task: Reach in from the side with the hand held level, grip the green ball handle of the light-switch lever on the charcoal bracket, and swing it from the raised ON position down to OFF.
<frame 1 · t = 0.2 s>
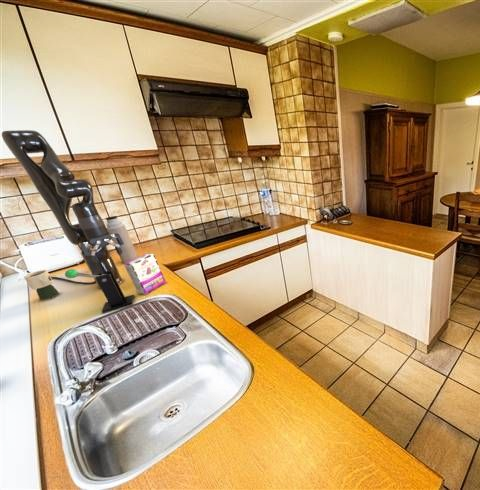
hand: (109, 258, 124), 17 cm above the worktop, tool pointing down, fingers open, 8 cm apart
switch bracket: (119, 304, 119), on the worktop
candy bar box: (152, 288, 131), on the worktop
switch lever: (88, 275, 110), point 17 cm above the worktop, hinge at 30.0°
thermos bottle: (131, 260, 163), on the worktop
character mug: (50, 297, 128), on the worktop
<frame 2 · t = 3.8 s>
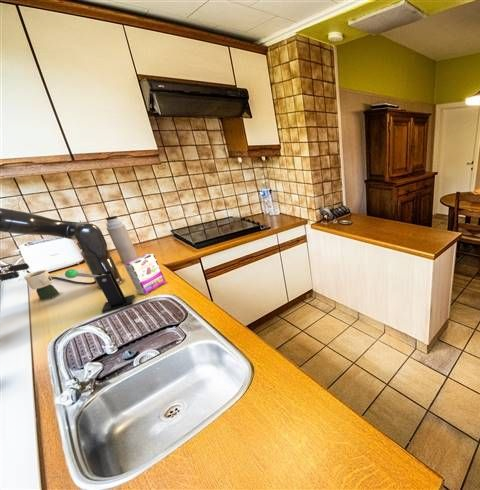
hand: (23, 269, 99), 25 cm above the worktop, tool horizontal, fingers open, 8 cm apart
nothing on the worktop moved.
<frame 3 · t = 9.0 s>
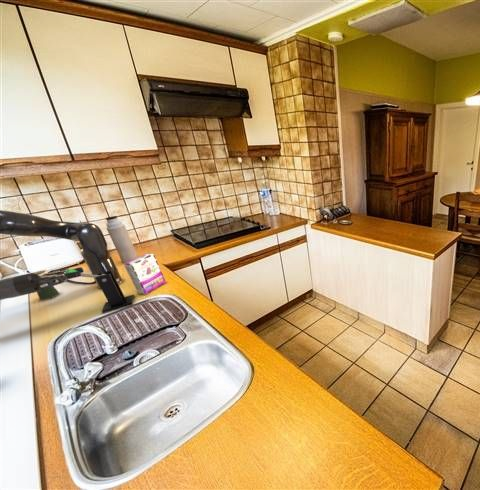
hand: (81, 271, 108), 19 cm above the worktop, tool horizontal, fingers closed on switch lever, 3 cm apart
switch lever: (88, 275, 110), point 17 cm above the worktop, hinge at 30.0°, touching gripper
everything else where it was.
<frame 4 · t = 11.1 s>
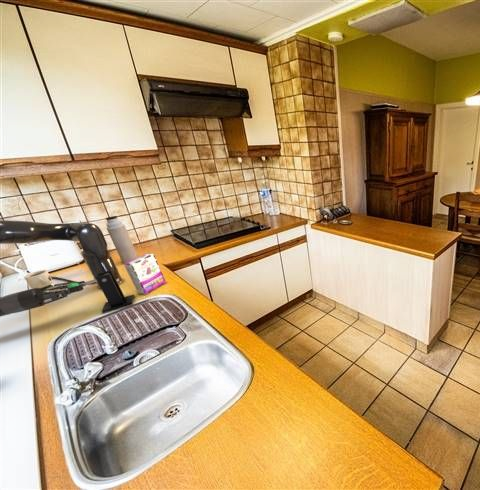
hand: (83, 285, 110), 13 cm above the worktop, tool horizontal, fingers closed on switch lever, 3 cm apart
switch lever: (89, 282, 111), point 14 cm above the worktop, hinge at -4.5°, touching gripper
everything else where it was.
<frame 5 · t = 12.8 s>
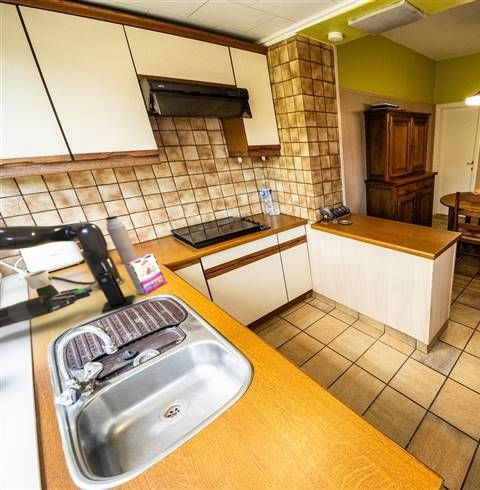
hand: (90, 291, 112), 10 cm above the worktop, tool horizontal, fingers closed on switch lever, 3 cm apart
switch lever: (92, 285, 111), point 12 cm above the worktop, hinge at -24.0°, touching gripper
everything else where it was.
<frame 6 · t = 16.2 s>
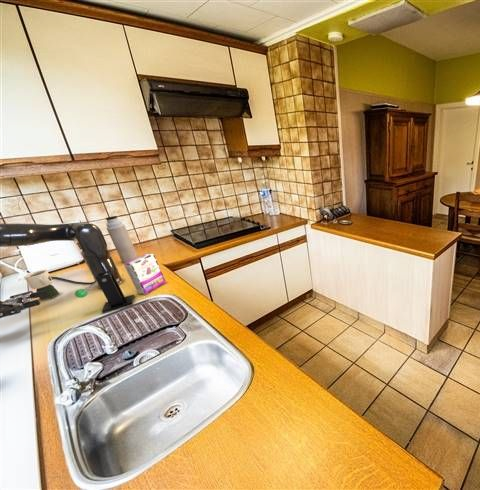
hand: (43, 296, 104), 12 cm above the worktop, tool horizontal, fingers open, 8 cm apart
switch lever: (93, 285, 112), point 12 cm above the worktop, hinge at -24.8°
everything else where it was.
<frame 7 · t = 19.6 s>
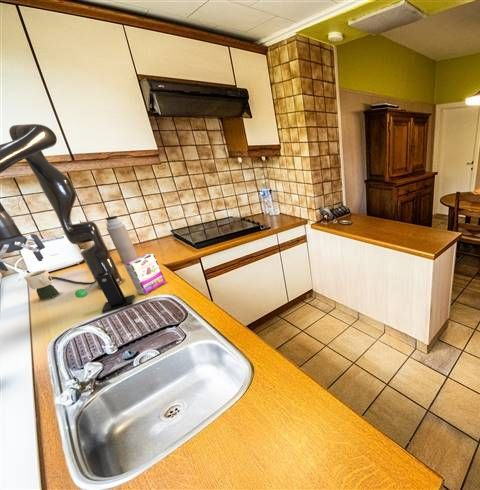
hand: (23, 265, 100), 26 cm above the worktop, tool pointing down, fingers open, 8 cm apart
nothing on the worktop moved.
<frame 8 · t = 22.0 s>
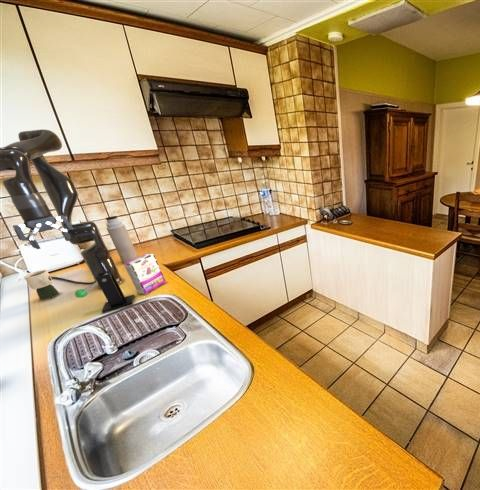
hand: (53, 244, 107), 30 cm above the worktop, tool pointing down, fingers open, 8 cm apart
nothing on the worktop moved.
at the end: switch lever at -25° (first picture: +30°); the gripper is holding nothing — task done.
